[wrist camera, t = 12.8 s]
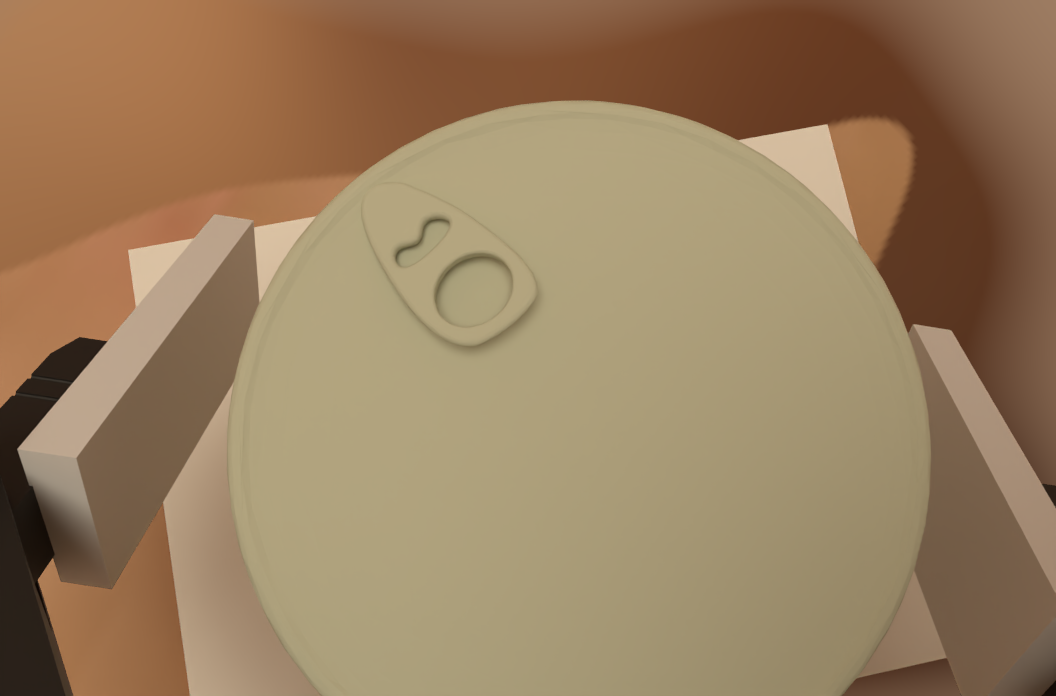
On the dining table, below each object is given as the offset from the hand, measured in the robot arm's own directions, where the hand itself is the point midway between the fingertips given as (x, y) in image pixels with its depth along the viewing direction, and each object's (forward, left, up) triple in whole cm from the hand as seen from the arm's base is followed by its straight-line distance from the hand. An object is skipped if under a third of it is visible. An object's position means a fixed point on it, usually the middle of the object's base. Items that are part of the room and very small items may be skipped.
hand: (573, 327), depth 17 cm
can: (+1, +2, -6) cm, 6 cm away
